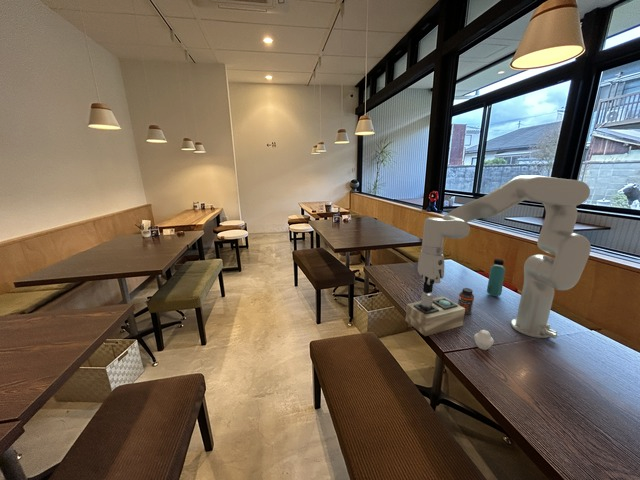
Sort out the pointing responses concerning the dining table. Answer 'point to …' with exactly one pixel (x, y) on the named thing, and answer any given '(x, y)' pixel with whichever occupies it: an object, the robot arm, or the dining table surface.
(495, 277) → the beverage bottle
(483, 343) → the white rounded ridged piece
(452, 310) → the socket block
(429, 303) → the steel peg
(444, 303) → the teal peg
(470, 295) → the supplement bottle
